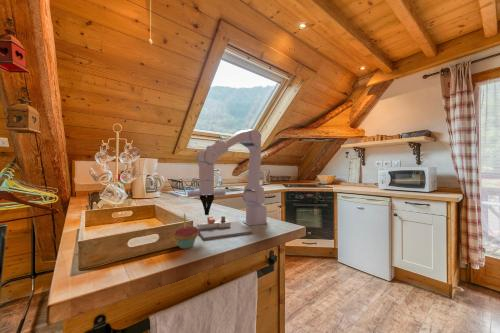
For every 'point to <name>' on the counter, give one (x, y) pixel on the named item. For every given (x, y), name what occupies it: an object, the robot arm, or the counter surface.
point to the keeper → (210, 219)
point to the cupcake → (186, 235)
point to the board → (224, 231)
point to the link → (214, 224)
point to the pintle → (223, 219)
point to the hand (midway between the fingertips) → (206, 214)
